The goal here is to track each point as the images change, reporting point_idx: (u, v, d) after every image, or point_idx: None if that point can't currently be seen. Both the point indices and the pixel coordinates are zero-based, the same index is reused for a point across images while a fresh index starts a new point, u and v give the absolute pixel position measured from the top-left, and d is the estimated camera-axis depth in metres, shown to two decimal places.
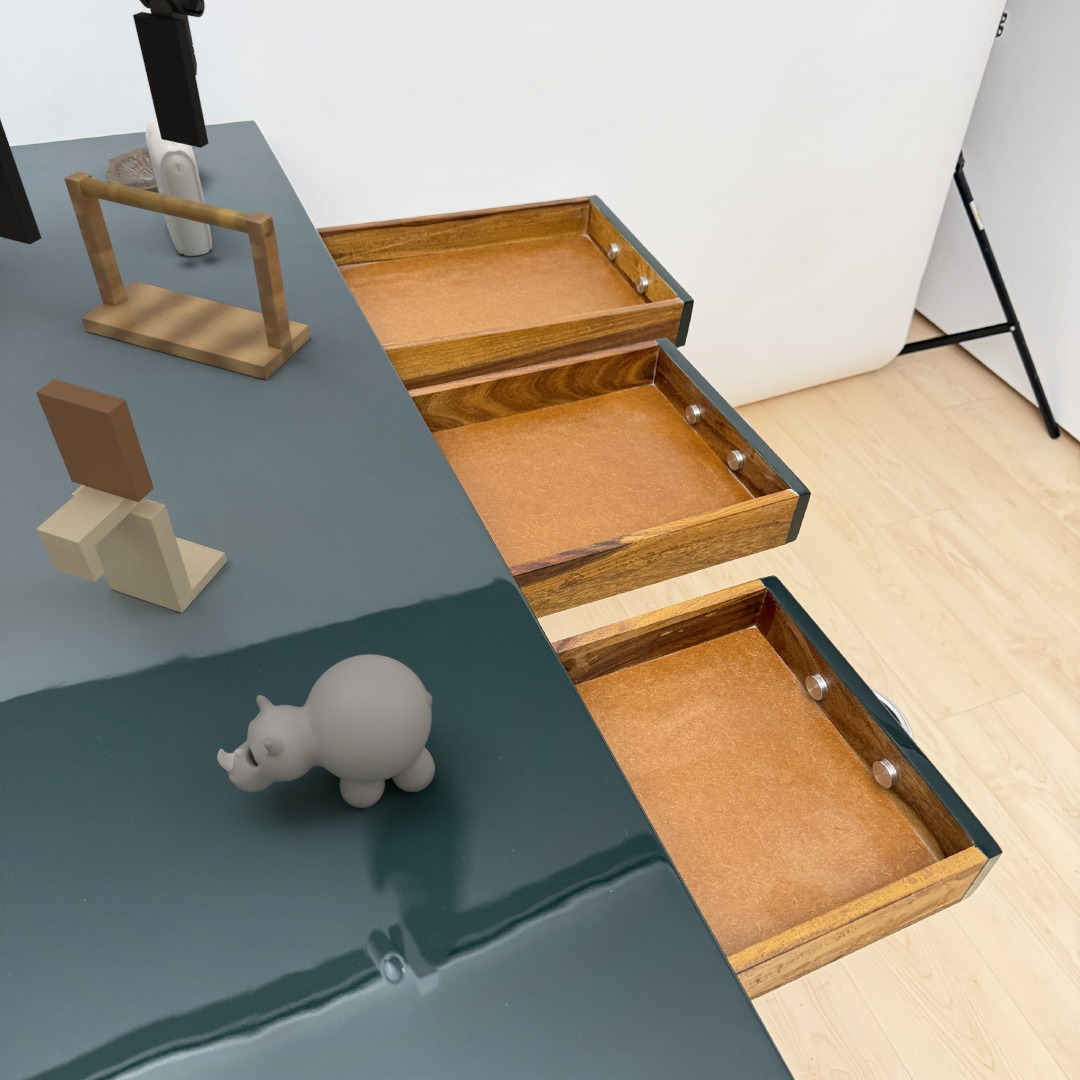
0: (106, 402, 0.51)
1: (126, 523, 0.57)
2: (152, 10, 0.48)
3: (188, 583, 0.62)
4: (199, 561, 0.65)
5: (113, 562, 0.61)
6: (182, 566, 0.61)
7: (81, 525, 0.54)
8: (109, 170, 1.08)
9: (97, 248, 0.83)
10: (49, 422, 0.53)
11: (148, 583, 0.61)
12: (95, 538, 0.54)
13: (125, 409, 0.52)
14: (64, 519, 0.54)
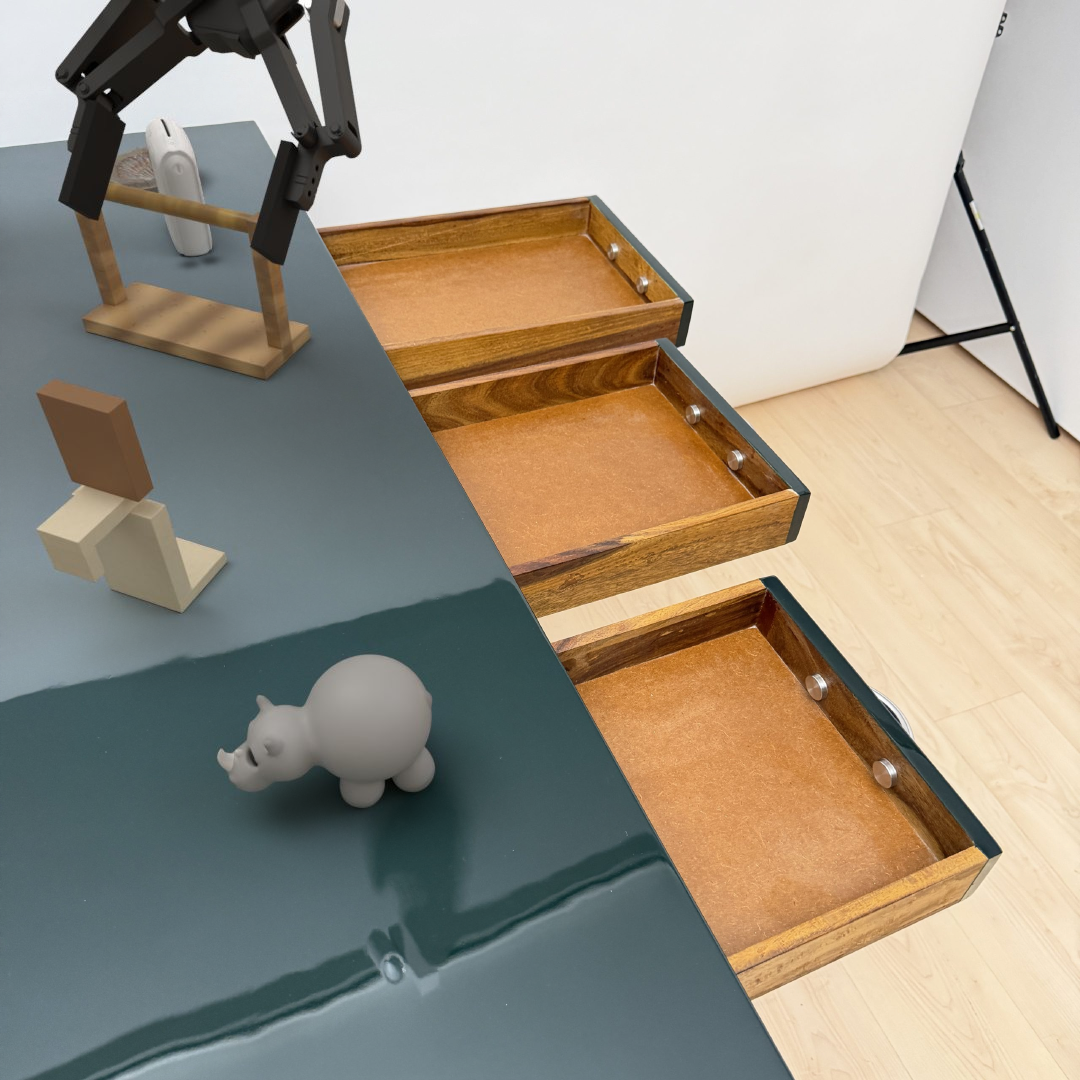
0: (106, 402, 0.51)
1: (126, 523, 0.57)
2: None
3: (188, 583, 0.62)
4: (199, 561, 0.65)
5: (113, 562, 0.61)
6: (182, 566, 0.61)
7: (81, 525, 0.54)
8: None
9: (97, 248, 0.83)
10: (49, 422, 0.53)
11: (148, 583, 0.61)
12: (95, 538, 0.54)
13: (125, 409, 0.52)
14: (64, 519, 0.54)
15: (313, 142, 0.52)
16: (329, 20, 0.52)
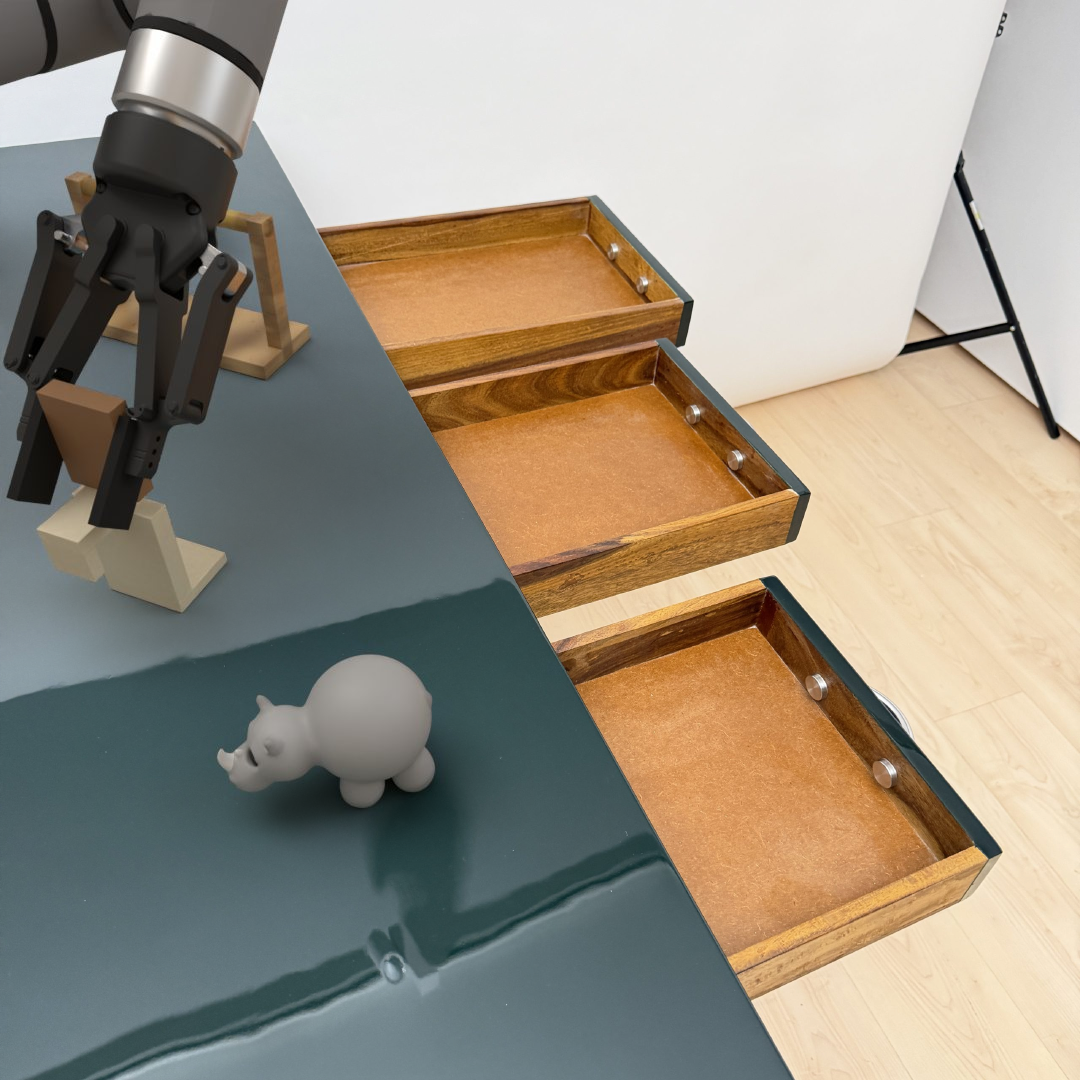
0: (106, 402, 0.51)
1: None
2: None
3: (188, 583, 0.62)
4: (199, 561, 0.65)
5: (113, 562, 0.61)
6: (182, 566, 0.61)
7: (81, 525, 0.54)
8: None
9: None
10: (49, 422, 0.53)
11: (148, 583, 0.61)
12: (95, 538, 0.54)
13: None
14: (64, 519, 0.54)
15: (148, 420, 0.51)
16: (213, 297, 0.51)
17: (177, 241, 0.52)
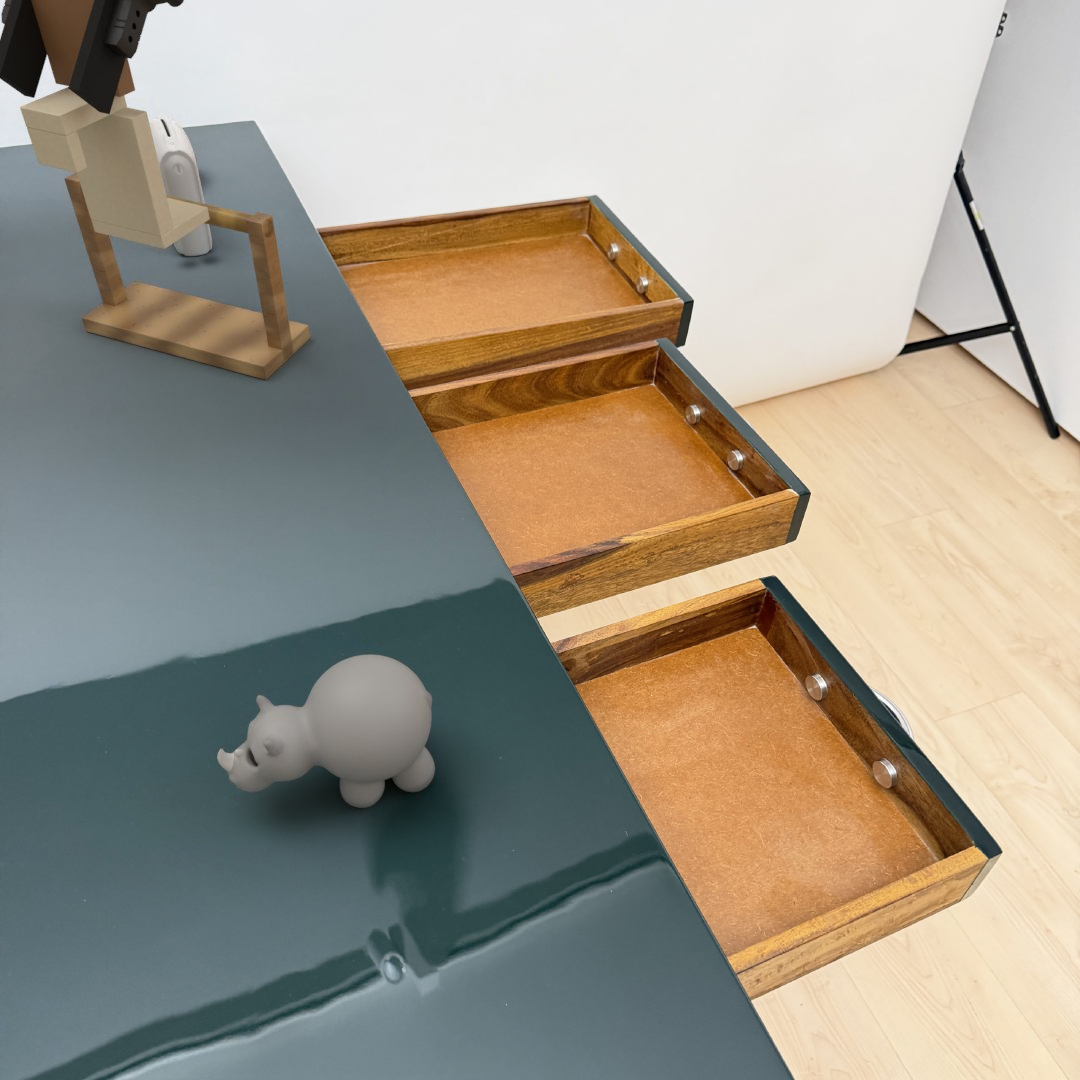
0: None
1: (109, 131, 0.59)
2: None
3: (170, 218, 0.64)
4: (182, 211, 0.66)
5: (97, 192, 0.63)
6: (164, 194, 0.62)
7: (63, 106, 0.55)
8: None
9: (97, 248, 0.83)
10: (33, 2, 0.55)
11: (131, 213, 0.63)
12: (77, 121, 0.56)
13: None
14: (47, 102, 0.56)
15: None
16: None
17: None
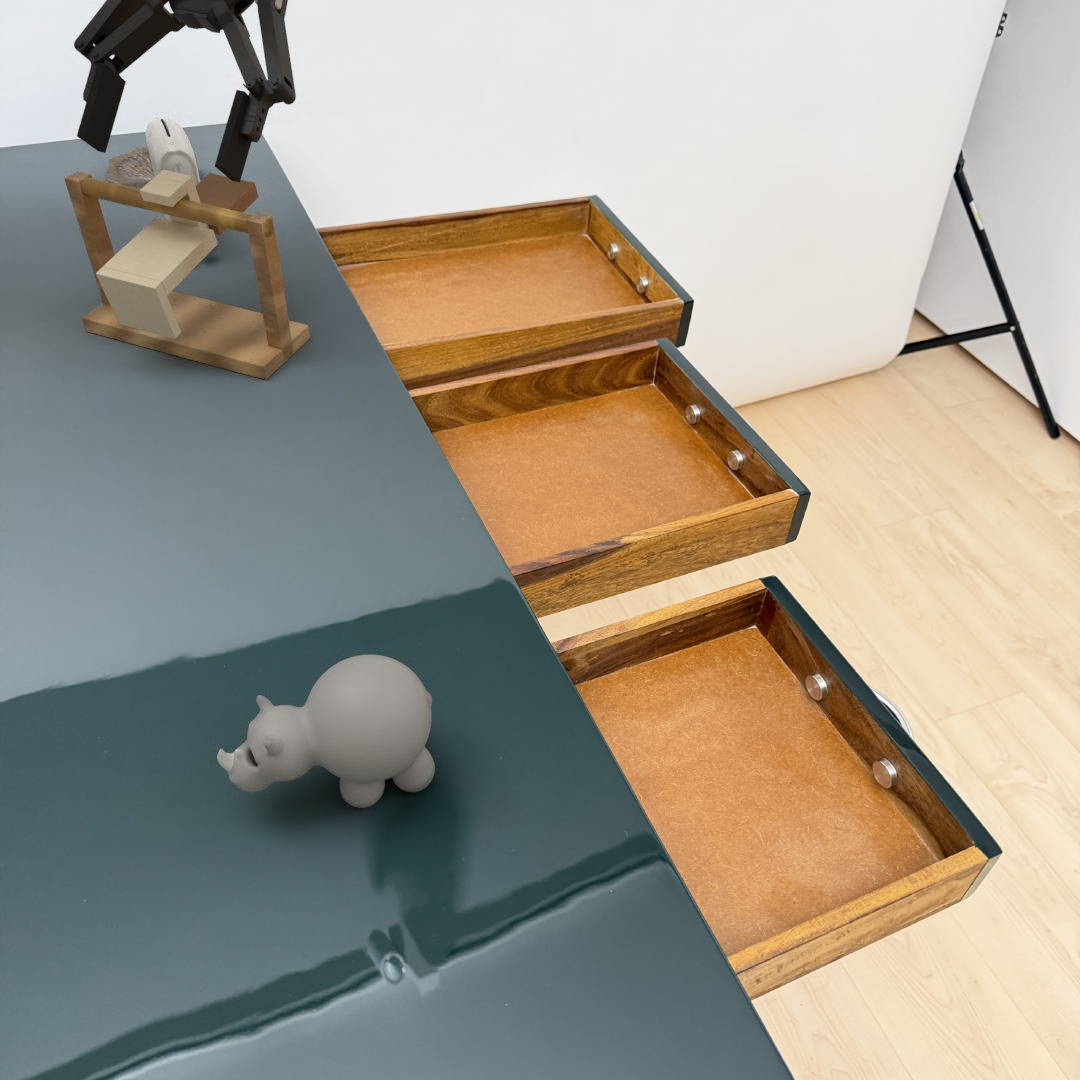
0: None
1: (185, 232, 0.80)
2: None
3: (171, 289, 0.77)
4: None
5: (131, 255, 0.78)
6: (183, 277, 0.78)
7: None
8: (109, 170, 1.08)
9: (97, 248, 0.83)
10: (198, 184, 0.85)
11: (148, 267, 0.77)
12: (191, 192, 0.79)
13: (255, 197, 0.86)
14: None
15: (259, 91, 0.73)
16: (271, 4, 0.73)
17: None
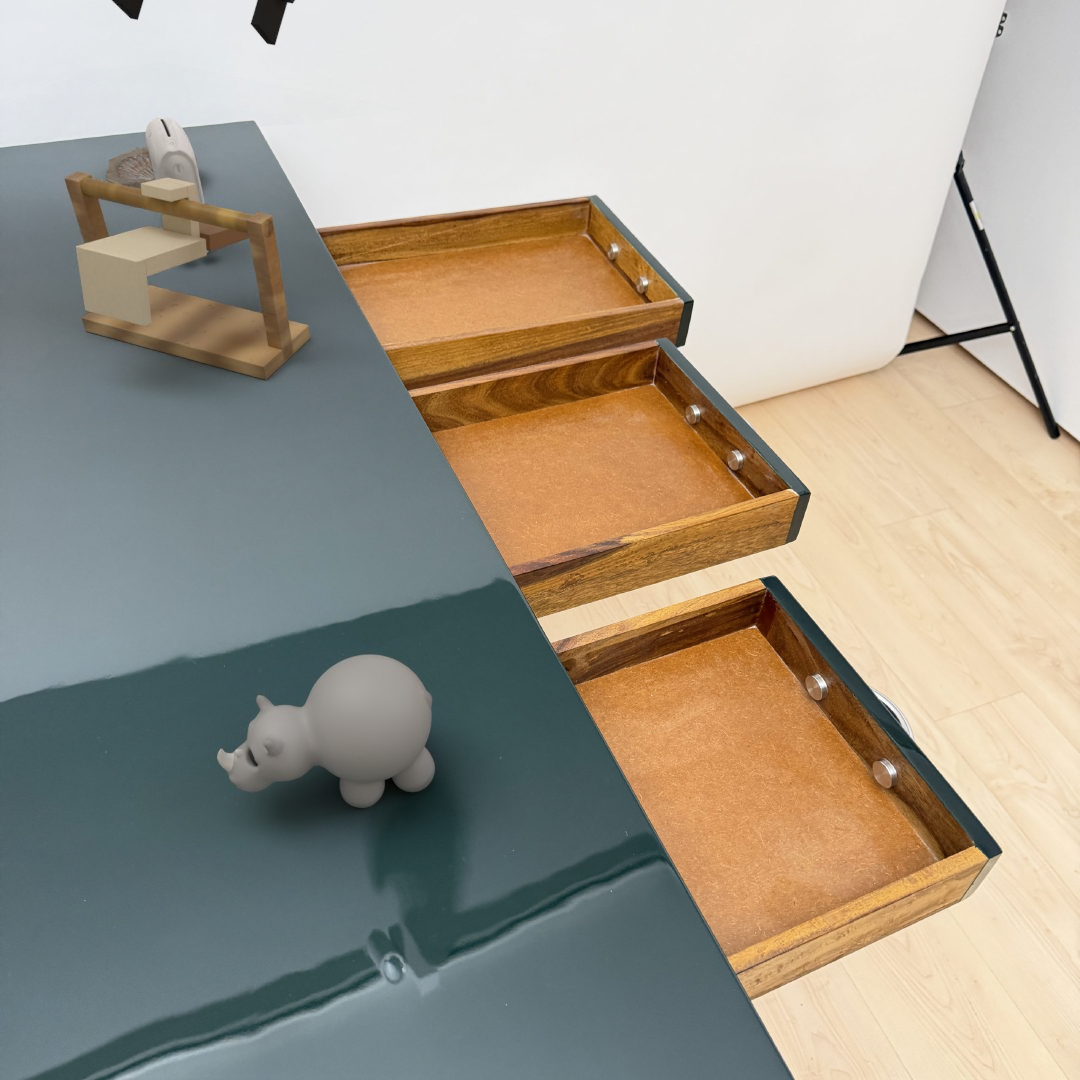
0: None
1: (176, 236, 0.79)
2: None
3: (153, 272, 0.75)
4: None
5: (117, 241, 0.76)
6: (166, 267, 0.76)
7: None
8: (109, 170, 1.08)
9: None
10: None
11: (133, 250, 0.75)
12: (192, 199, 0.79)
13: None
14: None
15: None
16: None
17: None
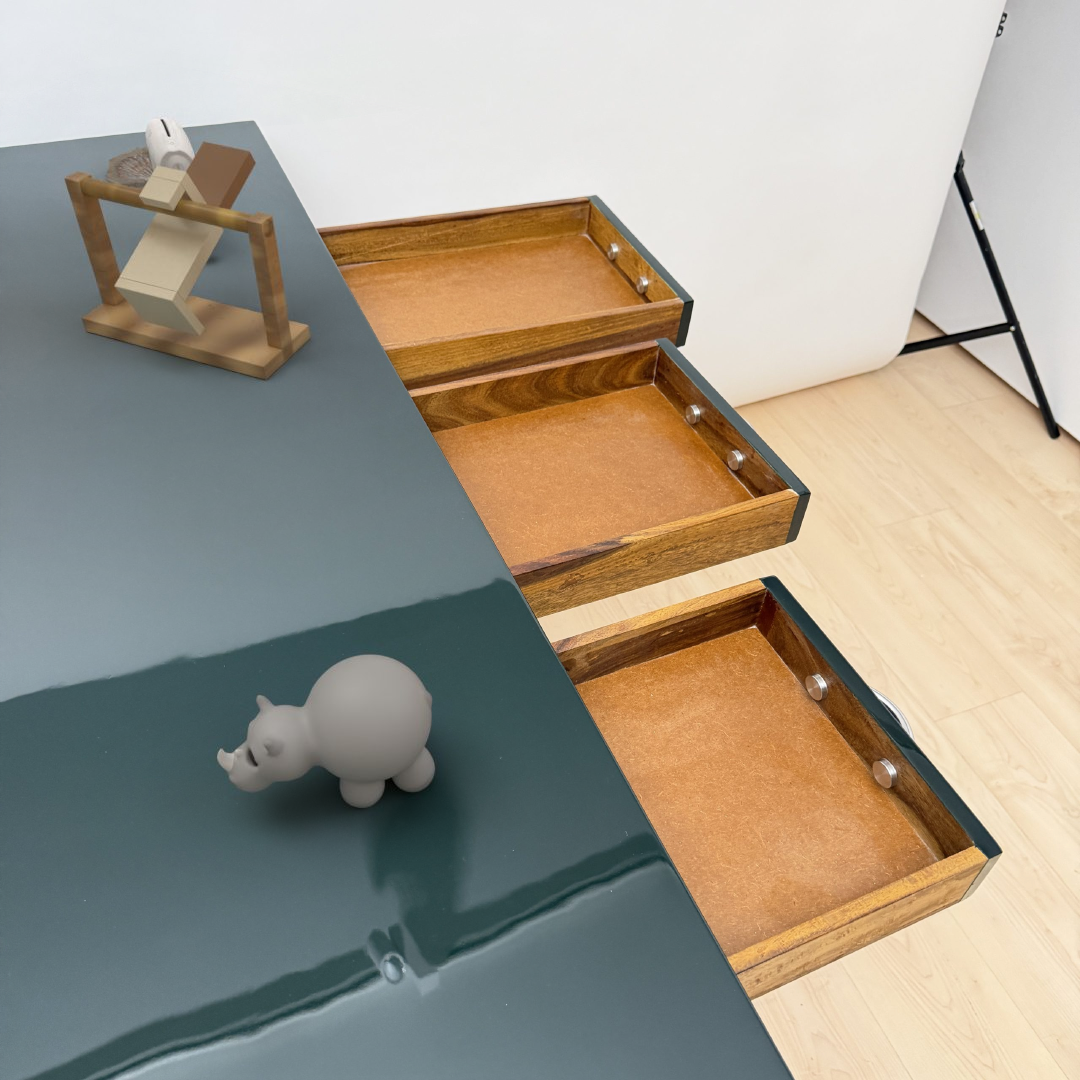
0: None
1: (190, 225, 0.81)
2: None
3: (187, 293, 0.80)
4: None
5: (143, 259, 0.80)
6: (196, 277, 0.80)
7: None
8: (109, 170, 1.08)
9: (97, 248, 0.83)
10: (194, 158, 0.83)
11: (162, 275, 0.79)
12: (189, 188, 0.78)
13: (252, 166, 0.84)
14: None
15: None
16: None
17: None
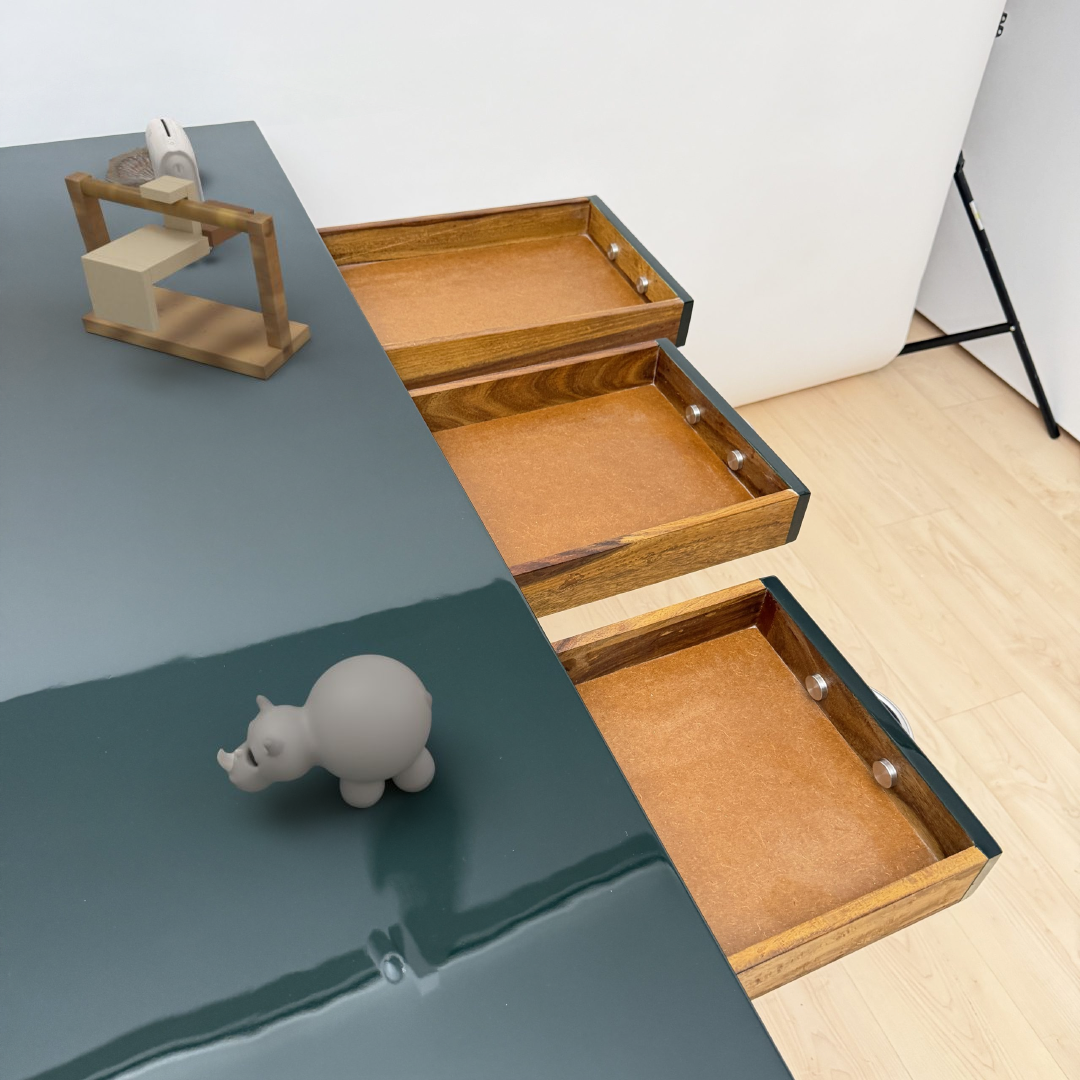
0: None
1: (179, 236, 0.80)
2: None
3: (158, 279, 0.75)
4: None
5: (120, 247, 0.77)
6: (171, 272, 0.77)
7: None
8: (109, 170, 1.08)
9: (97, 248, 0.83)
10: None
11: (137, 257, 0.75)
12: (191, 197, 0.79)
13: None
14: None
15: None
16: None
17: None
